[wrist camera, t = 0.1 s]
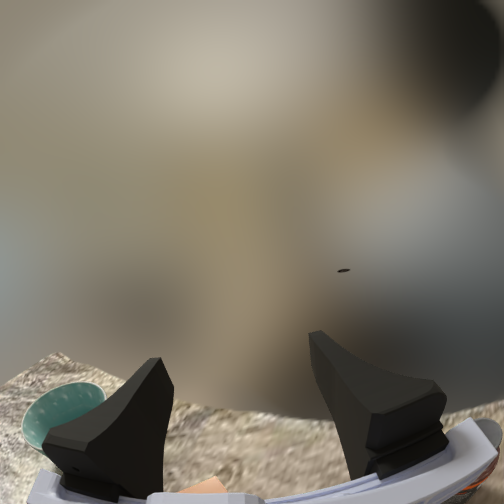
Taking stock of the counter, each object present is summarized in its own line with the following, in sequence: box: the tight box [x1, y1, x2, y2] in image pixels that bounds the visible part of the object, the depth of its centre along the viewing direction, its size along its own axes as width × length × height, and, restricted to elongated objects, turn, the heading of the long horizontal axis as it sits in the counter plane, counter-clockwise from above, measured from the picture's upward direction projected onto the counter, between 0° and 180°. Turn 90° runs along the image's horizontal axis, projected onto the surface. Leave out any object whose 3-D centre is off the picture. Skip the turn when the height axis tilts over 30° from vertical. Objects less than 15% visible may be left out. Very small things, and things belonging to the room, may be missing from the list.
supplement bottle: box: [441, 418, 502, 504], centre depth 12 cm, size 6×6×11 cm
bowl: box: [21, 381, 107, 456], centre depth 27 cm, size 16×16×8 cm
